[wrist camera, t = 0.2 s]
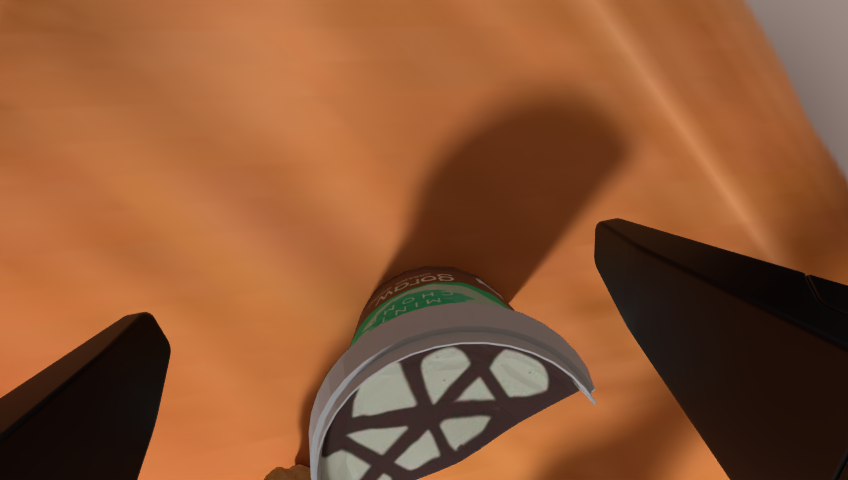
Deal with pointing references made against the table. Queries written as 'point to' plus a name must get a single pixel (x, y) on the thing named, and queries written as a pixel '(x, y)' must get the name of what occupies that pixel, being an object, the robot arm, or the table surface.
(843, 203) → the table surface
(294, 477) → the stone tool
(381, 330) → the food container
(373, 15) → the table surface
